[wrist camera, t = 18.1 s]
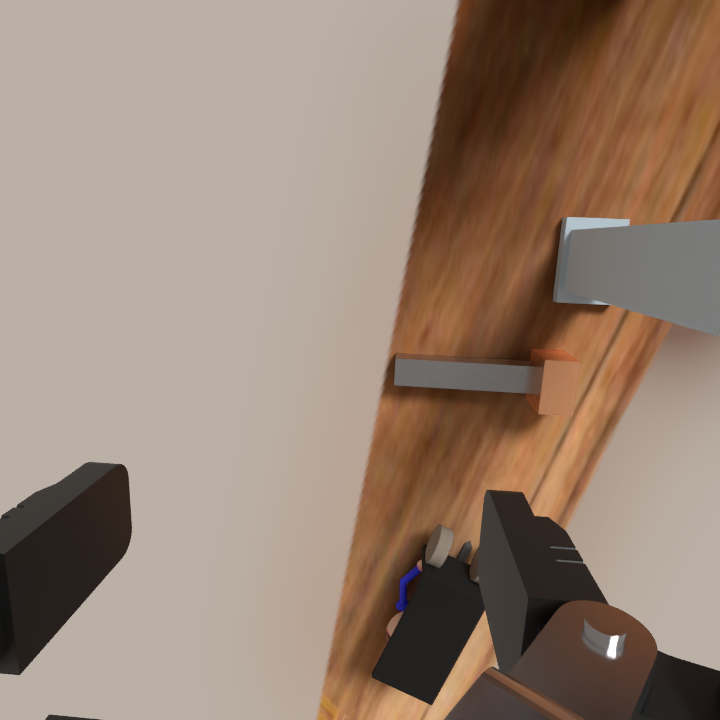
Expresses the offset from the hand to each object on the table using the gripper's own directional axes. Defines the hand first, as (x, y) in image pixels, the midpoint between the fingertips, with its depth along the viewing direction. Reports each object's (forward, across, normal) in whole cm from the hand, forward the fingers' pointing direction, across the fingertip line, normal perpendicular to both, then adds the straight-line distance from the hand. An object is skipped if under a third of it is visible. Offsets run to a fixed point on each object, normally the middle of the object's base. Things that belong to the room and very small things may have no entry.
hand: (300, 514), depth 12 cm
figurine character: (+36, -7, +27) cm, 46 cm away
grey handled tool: (+36, -9, +5) cm, 38 cm away
